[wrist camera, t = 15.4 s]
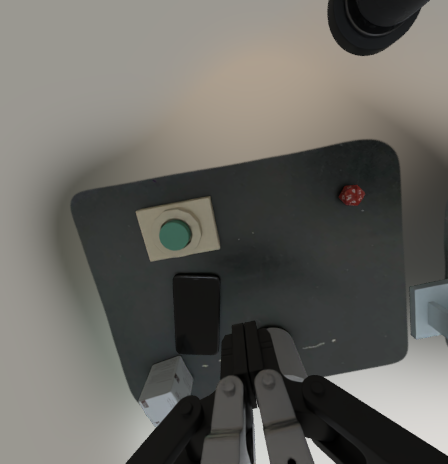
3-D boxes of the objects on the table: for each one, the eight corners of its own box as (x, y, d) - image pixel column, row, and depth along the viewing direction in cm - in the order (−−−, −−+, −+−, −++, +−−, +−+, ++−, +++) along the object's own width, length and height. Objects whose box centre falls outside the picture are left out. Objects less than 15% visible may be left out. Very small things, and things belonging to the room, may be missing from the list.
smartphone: (219, 352, 41) (220, 273, 37) (218, 356, 41) (220, 276, 36) (176, 351, 42) (173, 272, 37) (175, 355, 41) (171, 275, 36)
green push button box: (210, 195, 34) (208, 198, 30) (220, 244, 36) (219, 253, 32) (140, 208, 35) (130, 213, 31) (154, 256, 37) (146, 266, 33)
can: (246, 354, 42) (255, 425, 30) (256, 320, 40) (269, 382, 28) (285, 361, 42) (308, 433, 30) (297, 328, 40) (326, 392, 28)
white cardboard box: (193, 377, 43) (187, 418, 36) (166, 387, 44) (154, 429, 37) (180, 354, 42) (170, 391, 35) (151, 364, 42) (136, 403, 35)
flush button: (186, 217, 31) (184, 219, 29) (193, 243, 32) (191, 248, 30) (159, 222, 31) (155, 225, 30) (166, 248, 32) (163, 253, 31)
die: (335, 186, 33) (345, 188, 31) (355, 182, 33) (368, 183, 30) (336, 205, 34) (346, 209, 31) (356, 201, 34) (368, 204, 31)
